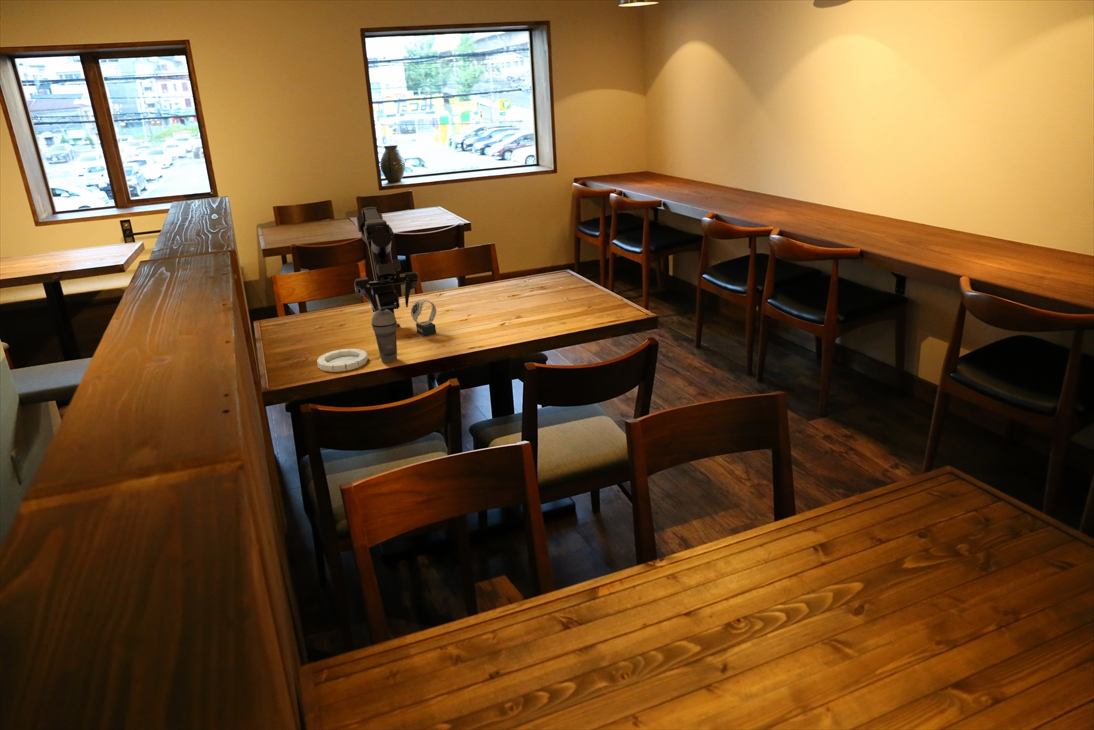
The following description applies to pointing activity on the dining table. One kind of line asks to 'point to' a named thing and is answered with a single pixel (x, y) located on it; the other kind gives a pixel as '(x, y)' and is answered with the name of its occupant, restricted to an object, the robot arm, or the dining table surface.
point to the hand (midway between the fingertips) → (391, 309)
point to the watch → (427, 326)
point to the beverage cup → (385, 333)
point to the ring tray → (342, 360)
